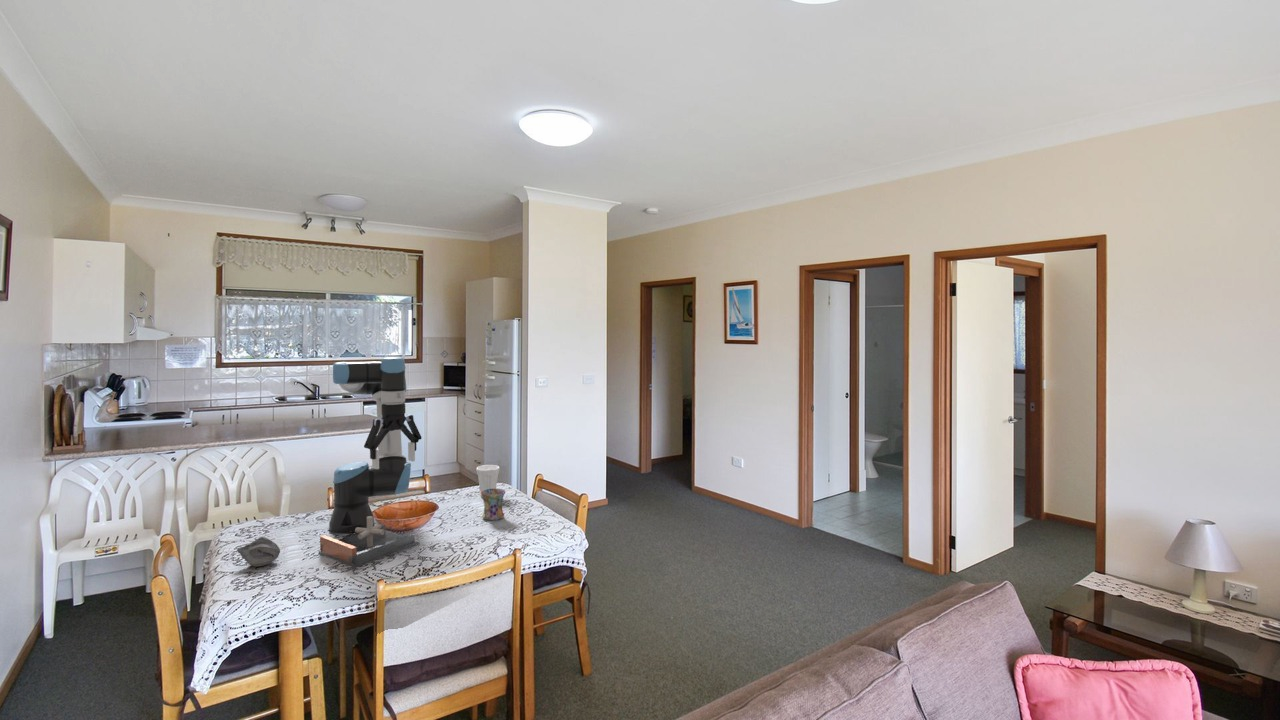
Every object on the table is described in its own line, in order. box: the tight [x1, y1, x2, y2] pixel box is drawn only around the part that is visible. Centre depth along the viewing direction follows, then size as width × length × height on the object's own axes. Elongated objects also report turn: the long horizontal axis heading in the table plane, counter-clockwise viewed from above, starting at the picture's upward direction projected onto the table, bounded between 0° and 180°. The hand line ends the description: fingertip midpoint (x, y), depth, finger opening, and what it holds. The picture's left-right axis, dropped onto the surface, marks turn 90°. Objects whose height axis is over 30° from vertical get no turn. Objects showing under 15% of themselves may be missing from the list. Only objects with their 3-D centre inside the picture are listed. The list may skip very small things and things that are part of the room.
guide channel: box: [318, 523, 420, 569], centre depth 200 cm, size 24×20×6 cm
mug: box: [480, 487, 506, 521], centre depth 233 cm, size 12×9×11 cm
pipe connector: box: [354, 516, 385, 547], centre depth 200 cm, size 10×10×10 cm
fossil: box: [237, 536, 281, 567], centre depth 186 cm, size 11×9×8 cm
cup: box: [476, 464, 501, 498], centre depth 260 cm, size 10×10×13 cm
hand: (394, 464), depth 201 cm, fingers open, 13 cm apart
